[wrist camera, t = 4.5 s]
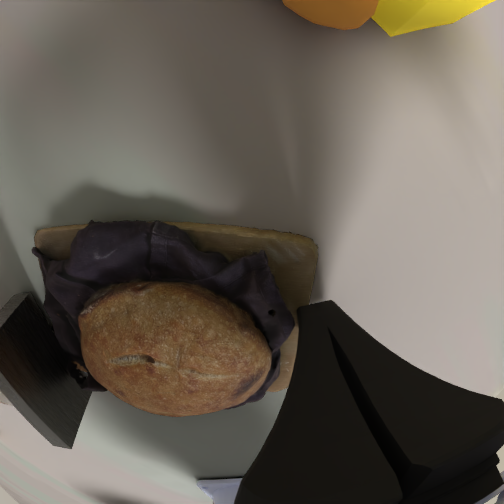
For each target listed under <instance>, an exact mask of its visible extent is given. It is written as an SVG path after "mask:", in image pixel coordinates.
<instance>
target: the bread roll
mask: <svg viewBox="0 0 504 504" xmlns="http://www.w3.org/2000/svg"><path fill="white" fill-rule="evenodd" d="M34 241H35V246H36V247H33V249H32V253H33V254H34V255H35V256H36V257H38V260H39V265H40V269H41V271H42V275H43V281H44V285H45V289H46V295H45V301H44V304H43V306H44V308H45V310H46V312H47V313H48V315H49V316H50V318H51V320H52V323H53V328H54V333H55V337H56V338H57V340H58V342H59V343H60V345H61V347H62V348H63V349H64V351H65V352H66V354H67V356H68V363H67V370H68V372H69V373H70V376H71V377H72V378H73V379H75V381H76V383H77V384H78V385H79V386H80V388H81V389H82V390H87V391H99V392H105V391H107V390H109V391H110V392H111V393H113V394H114V395H115V396H116V397H118V398H119V399H121V400H123V401H124V402H126V403H128V404H130V405H132V406H134V407H136V408H139V409H141V410H144V411H147V412H150V413H153V414H158V415H164V416H171V417H182V416H191V415H201V414H206V413H211V412H216V411H219V410H222V409H231V408H236V407H239V406H242V405H244V404H246V403H249V402H255V401H258V400H260V399H262V398H263V396H264V395H265V392H267V391H270V392H277V391H280V390H283V389H285V388H287V387H288V386H289V383H290V379H291V376H292V372H293V367H294V362H295V357H296V352H297V344H298V333H299V328H298V320H297V312H296V310H297V309H298V308H299V307H300V306H305V305H309V301H310V295H311V291H312V285H313V280H314V275H315V268H316V264H317V259H318V252H317V249H318V247H317V245H316V244H315V243H314V242H313V240H312V239H311V238H307V237H304V236H302V235H299V234H296V235H294V234H292V233H291V232H289V233H287V232H284V233H281V232H278V231H275V230H259V229H256V228H248V227H239V226H233V225H216V224H200V223H192V222H161V221H154V222H146V221H138V220H136V221H128V220H127V221H119V222H117V221H113V222H105V223H103V222H94V221H93V220H91V222H90V223H89V224H84V225H69V226H58V227H51V228H44V229H42V230H38V231H37V232H36V234H35V237H34ZM71 361H72V362H71ZM75 368H77V369H75ZM80 370H82V371H84V372H87V373H88V377H87V379H86V377H83V378H81V377H80V375H81V376H82V374H81V373H80Z"/></svg>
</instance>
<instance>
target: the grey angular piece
mask: <svg viewBox="0 0 504 504" xmlns="http://www.w3.org/2000/svg"><path fill="white" fill-rule="evenodd" d="M71 362H72V361H71ZM67 363H68V356H67V354H66V352H65V351H64V349H63V348H62V347H61V345H60V343H59V342H58V340H57V338H56V337H55V335H54V333H53V332H52V330H51V328H50V327H49V325H48V323H47V322H46V320H45V318H44V316H43V314H42V313H41V311H40V309H39V307H38V305H37V303H36V302H35V300H34V298H33V296H32V294H31V292H28V293H23V294H18V295H14V296H13V297H12V298H11V299H10V300H9V301H8V303H7V304H6V305H5V306H4V307H3V308H2V309H1V310H0V403H3V404H7V405H12V406H14V407H15V408H16V409H17V410H18V411H19V412H20V413H21V414H22V415H23V416H24V417H25V419H26V420H27V421H28V422H29V423H30V424H31V425H32V426H33V427H34V428H35V429H36V430H37V431H38V432H39V433H40V434H41V435H42V436H44V437H45V438H46V439H47V440H48V441H49V442H50V443H51V444H52V445H53V446H58V447H63V448H68V449H72V446H73V443H74V440H75V437H76V434H77V431H78V429H79V426H80V423H81V420H82V417H83V415H84V412H85V409H86V406H87V404H88V401H89V398H90V396H91V393H92V391H87V390H82V389H81V388H80V386H79V385H78V384H77V383H76V381H75V379H73V378H72V377H71V376H70V373H69V372H68V370H67ZM75 369H76V368H75ZM80 377H81V378H83V377H82V376H81V375H80Z"/></svg>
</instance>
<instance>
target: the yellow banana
mask: <svg viewBox="0 0 504 504" xmlns="http://www.w3.org/2000/svg"><path fill="white" fill-rule="evenodd" d="M282 1H283V4H284V5H285V6H286V7H288V8H289V9H291V10H292V11H294V12H295V13H296V14H298V15H299V16H301V17H303V18H305V19H307V20H309V21H310V22H312V23H314V24H318V25H323V26H327V27H332V28H336V29H341V30H348V29H356V28H359V27H360V26H361V25H362V24H364V23H365V22H366V21H367V20H368V19H369V18H372V19H373V20H374V21H375V22H376V23H377V24H378V25H379V26H380V27H381V28H382V29H383V30H384V31H385V32H386V33H387V34H388V35H389V36H390V37H392V36H396V35H400V34H404V33H408V32H412V31H416V30H421V29H425V28H430V27H435V26H441V25H446V24H452V23H454V22H456V21H458V20H459V19H461V18H463V17H465V16H467V15H468V14H470V13H472V12H474V11H476V10H478V9H479V8H481V7H483V6H485V5H487V4H489V3H491V2H493V1H495V0H282Z"/></svg>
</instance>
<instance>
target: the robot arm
mask: <svg viewBox="0 0 504 504" xmlns="http://www.w3.org/2000/svg"><path fill="white" fill-rule="evenodd" d="M296 312H297V320H298V328H299V333H298V344H297V352H296V357H295V362H294V367H293V372H292V376H291V379H290V383H289V386H288V390H287V393H286V396H285V399H284V401H283V404H282V406H281V409H280V412H279V414H278V417H277V419H276V421H275V423H274V426H273V428H272V430H271V432H270V433H269V435H268V437H267V439H266V441H265V443H264V445H263V447H262V449H261V451H260V452H259V454H258V456H257V457H256V459H255V460H254V462H253V463H252V465H251V467H250V468H249V470H248V471H247V473H246V474H245V476H244V477H243V478H236V479H219V480H198V481H197V486H198V487H199V488H200V489H201V490H202V491H204V492H205V493H206V494H207V495H208V496H209V497H210V498H211V499H213V504H484V503H486V502H487V501H489V500H490V499H491V498H493V497H495V496H496V495H498V494H499V493H500V494H499V496H498V499H497V502H496V503H495V504H504V471H503V472H501V473H499V471H498V469H497V466H496V465H497V464H498V463H499V461H500V460H499V458H498V456H497V454H496V452H497V451H498V450H499V449H500V448H501V447H502V446H503V445H504V402H503V401H502V399H498V398H494V397H491V396H487V395H483V394H479V393H476V392H472V391H469V390H466V389H464V388H461V387H458V386H455V385H453V384H450V383H448V382H446V381H443V380H441V379H439V378H437V377H435V376H433V375H431V374H429V373H426V372H424V371H422V370H421V369H419V368H417V367H415V366H413V365H412V364H410V363H409V362H407V361H405V360H404V359H402V358H401V357H399V356H398V355H396V354H395V353H393V352H392V351H390V350H389V349H388V348H386V347H385V346H383V345H382V344H381V343H379V342H378V341H377V340H376V339H374V338H373V337H372V336H371V335H370V334H368V333H367V332H366V331H365V330H364V329H362V328H361V327H360V326H359V325H358V324H357V323H356V322H354V321H353V320H352V319H351V318H350V317H349V316H348V315H347V314H346V313H345V312H344V311H343V310H342V309H341V308H340V307H339V306H338V305H337V304H336V303H335V302H333V301H332V300H329V301H324V302H320V303H315V304H310V305H305V306H300V307H299V308H298V309H297V310H296Z"/></svg>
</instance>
